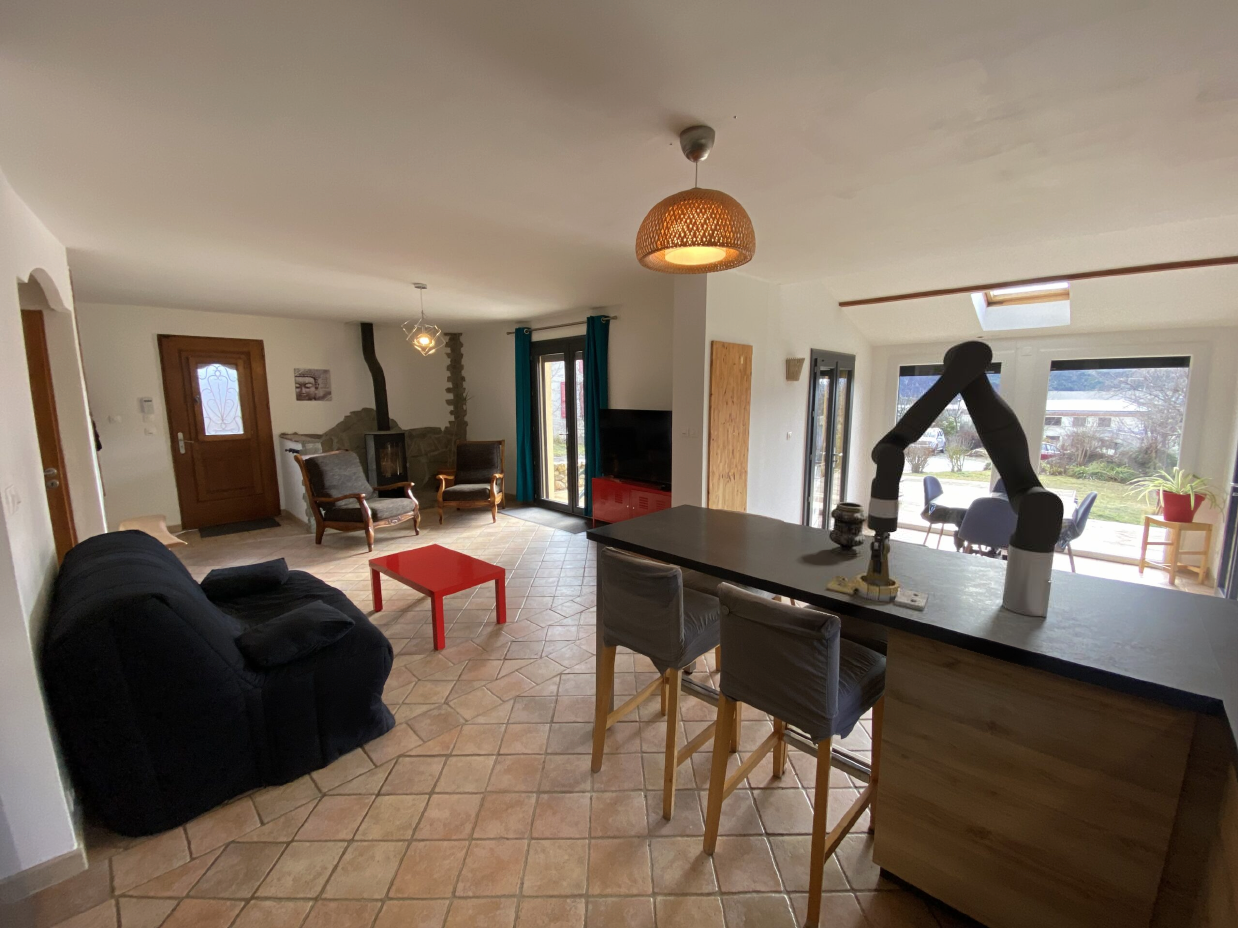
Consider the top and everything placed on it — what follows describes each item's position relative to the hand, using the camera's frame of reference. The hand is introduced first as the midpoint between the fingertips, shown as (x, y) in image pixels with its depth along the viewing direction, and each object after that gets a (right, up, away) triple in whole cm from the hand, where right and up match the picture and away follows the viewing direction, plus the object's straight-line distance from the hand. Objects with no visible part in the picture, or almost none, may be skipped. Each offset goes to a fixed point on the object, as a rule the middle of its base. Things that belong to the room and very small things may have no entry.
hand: (878, 570), depth 143 cm
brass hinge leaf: (-3, -7, +3) cm, 8 cm away
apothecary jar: (+8, -2, +38) cm, 39 cm away
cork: (0, -2, 0) cm, 2 cm away
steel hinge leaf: (+3, -7, -1) cm, 8 cm away
